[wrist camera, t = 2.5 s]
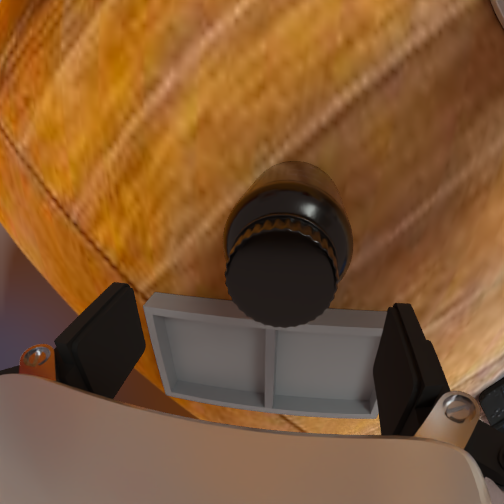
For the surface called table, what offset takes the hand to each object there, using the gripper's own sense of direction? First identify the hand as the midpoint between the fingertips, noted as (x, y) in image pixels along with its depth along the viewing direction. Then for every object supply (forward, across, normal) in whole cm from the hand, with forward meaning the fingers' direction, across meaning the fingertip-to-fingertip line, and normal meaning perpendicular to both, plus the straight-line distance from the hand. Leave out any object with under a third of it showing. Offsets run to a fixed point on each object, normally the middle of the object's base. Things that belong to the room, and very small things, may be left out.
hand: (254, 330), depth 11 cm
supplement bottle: (+15, -1, -1) cm, 15 cm away
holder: (+15, +1, +14) cm, 21 cm away
